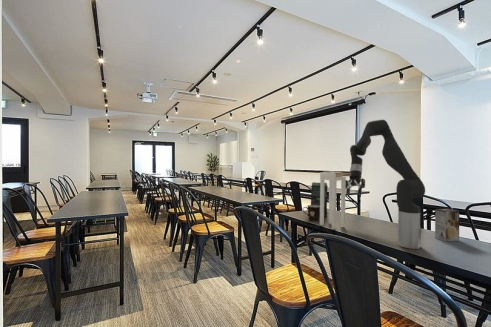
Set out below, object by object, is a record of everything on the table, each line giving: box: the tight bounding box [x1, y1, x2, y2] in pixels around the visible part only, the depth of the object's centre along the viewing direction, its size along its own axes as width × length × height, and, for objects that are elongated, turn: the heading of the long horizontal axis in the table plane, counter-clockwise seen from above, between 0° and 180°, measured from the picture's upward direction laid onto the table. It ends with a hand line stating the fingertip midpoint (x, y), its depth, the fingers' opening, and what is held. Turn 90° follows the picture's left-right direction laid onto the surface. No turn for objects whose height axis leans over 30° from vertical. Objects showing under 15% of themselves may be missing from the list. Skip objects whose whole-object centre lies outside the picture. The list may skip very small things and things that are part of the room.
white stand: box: [319, 171, 347, 230], centre depth 163 cm, size 12×10×34 cm
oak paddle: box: [323, 170, 351, 177], centre depth 166 cm, size 9×19×3 cm, turn 118°
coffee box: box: [434, 208, 460, 242], centre depth 138 cm, size 9×6×16 cm
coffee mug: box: [302, 204, 320, 222], centre depth 180 cm, size 12×9×10 cm
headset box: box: [310, 181, 329, 218], centre depth 199 cm, size 22×12×26 cm, turn 164°
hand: (353, 194), depth 170 cm, fingers open, 8 cm apart
